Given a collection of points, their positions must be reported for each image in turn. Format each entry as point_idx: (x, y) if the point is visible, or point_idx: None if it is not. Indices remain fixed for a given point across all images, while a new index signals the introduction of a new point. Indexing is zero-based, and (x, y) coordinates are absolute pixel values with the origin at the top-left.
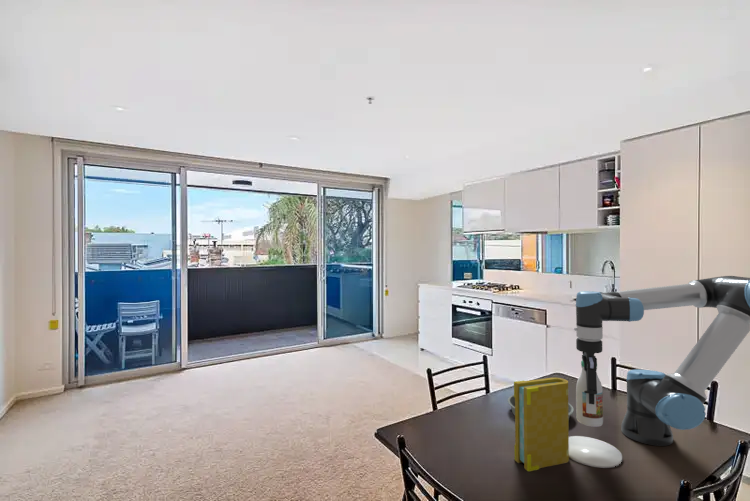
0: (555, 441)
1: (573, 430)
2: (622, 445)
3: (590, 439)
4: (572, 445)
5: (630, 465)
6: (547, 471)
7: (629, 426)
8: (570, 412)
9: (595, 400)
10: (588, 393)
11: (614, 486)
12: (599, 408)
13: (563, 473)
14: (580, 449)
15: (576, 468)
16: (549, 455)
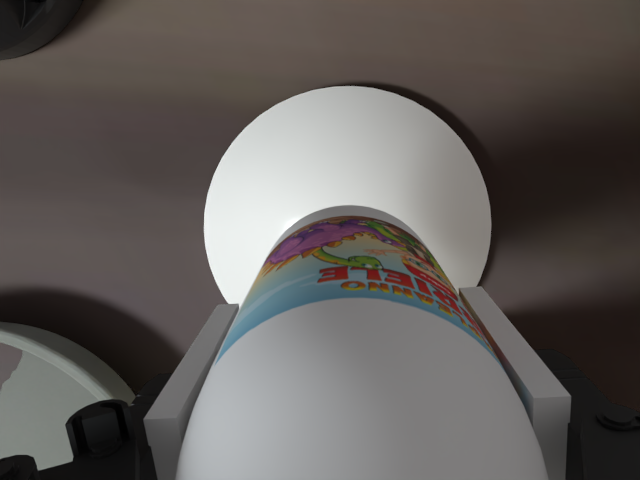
0: None
1: (130, 300)
2: (182, 71)
3: (227, 229)
4: None
5: (399, 52)
6: None
7: (9, 9)
8: (5, 340)
9: (532, 353)
10: (560, 475)
11: (635, 142)
12: (438, 270)
13: (594, 338)
14: None
15: (530, 290)
16: None
